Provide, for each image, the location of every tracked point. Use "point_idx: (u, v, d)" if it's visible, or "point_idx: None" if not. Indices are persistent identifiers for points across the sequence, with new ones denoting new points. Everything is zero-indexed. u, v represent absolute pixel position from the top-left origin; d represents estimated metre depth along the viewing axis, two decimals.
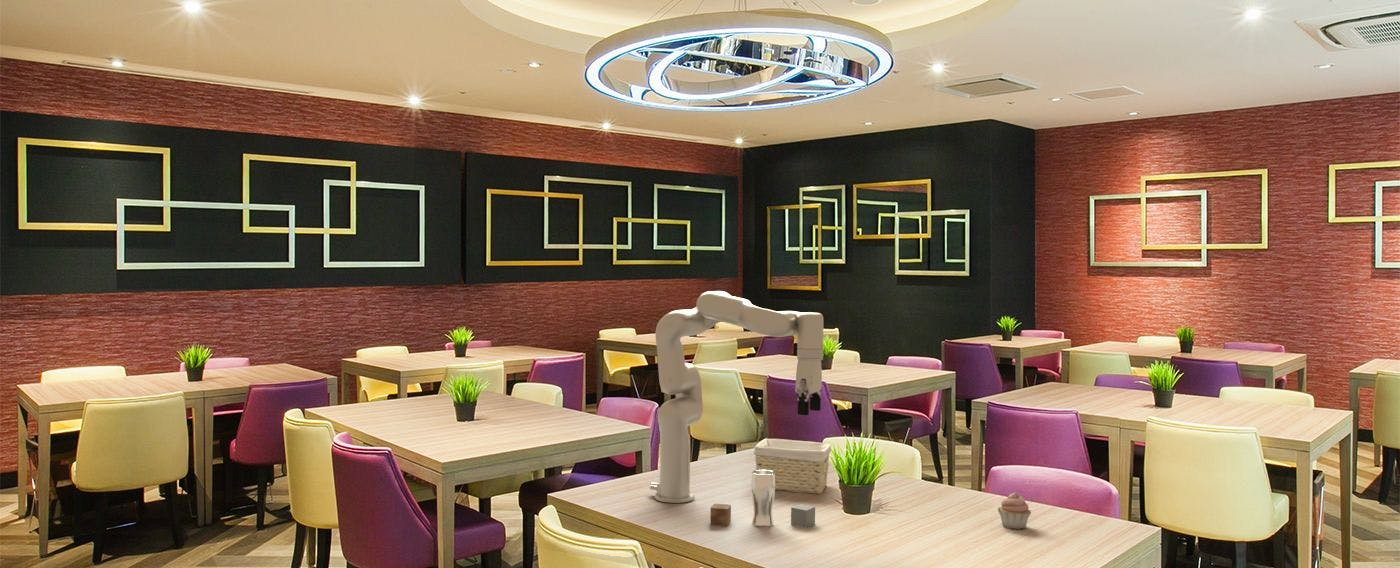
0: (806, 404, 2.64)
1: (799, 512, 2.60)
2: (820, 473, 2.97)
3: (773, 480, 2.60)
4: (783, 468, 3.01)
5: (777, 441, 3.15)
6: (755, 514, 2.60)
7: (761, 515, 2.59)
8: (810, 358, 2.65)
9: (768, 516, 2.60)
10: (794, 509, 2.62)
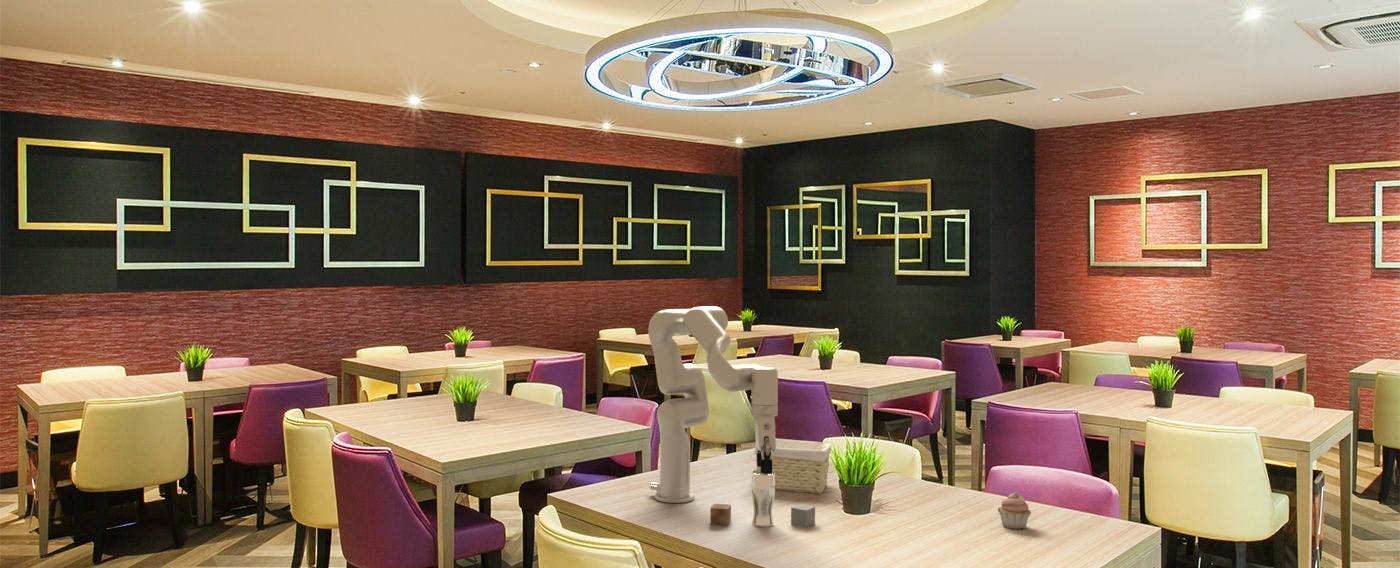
0: None
1: (799, 512, 2.60)
2: (821, 473, 2.98)
3: (773, 480, 2.60)
4: (784, 468, 3.01)
5: (777, 441, 3.16)
6: (755, 514, 2.60)
7: (761, 515, 2.59)
8: None
9: (768, 516, 2.60)
10: (794, 509, 2.62)
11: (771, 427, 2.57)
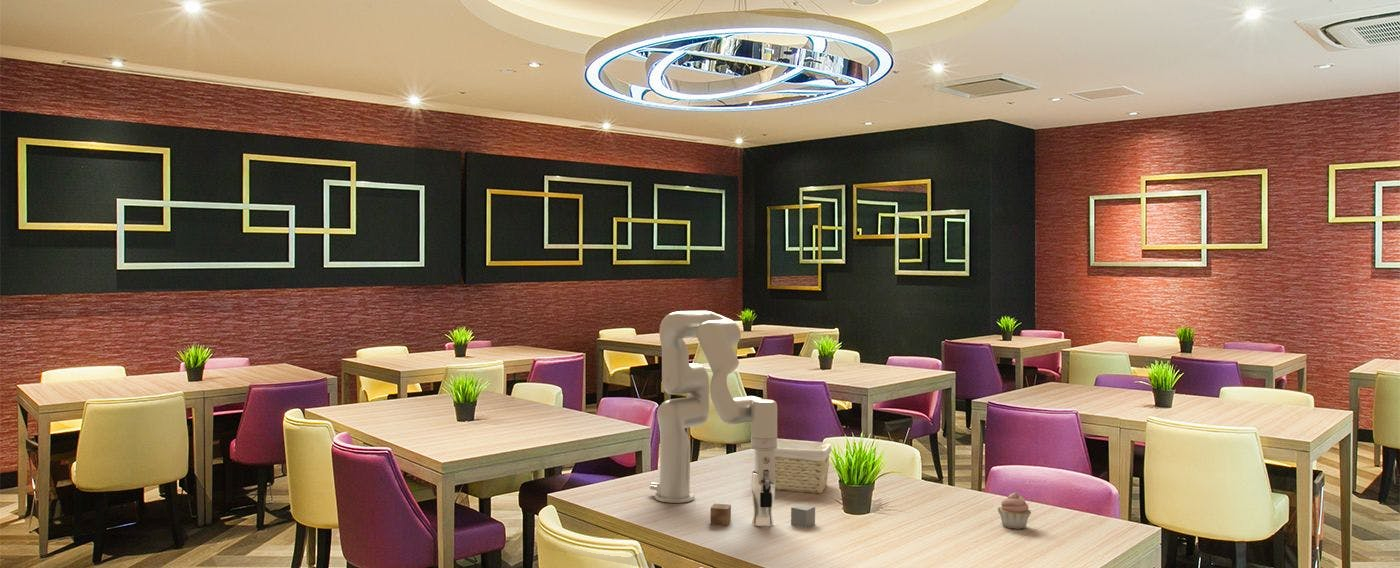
0: None
1: (799, 512, 2.60)
2: (821, 472, 2.98)
3: None
4: (784, 468, 3.01)
5: (777, 441, 3.16)
6: (755, 514, 2.60)
7: (761, 515, 2.59)
8: None
9: (768, 516, 2.60)
10: (794, 509, 2.62)
11: (770, 460, 2.57)
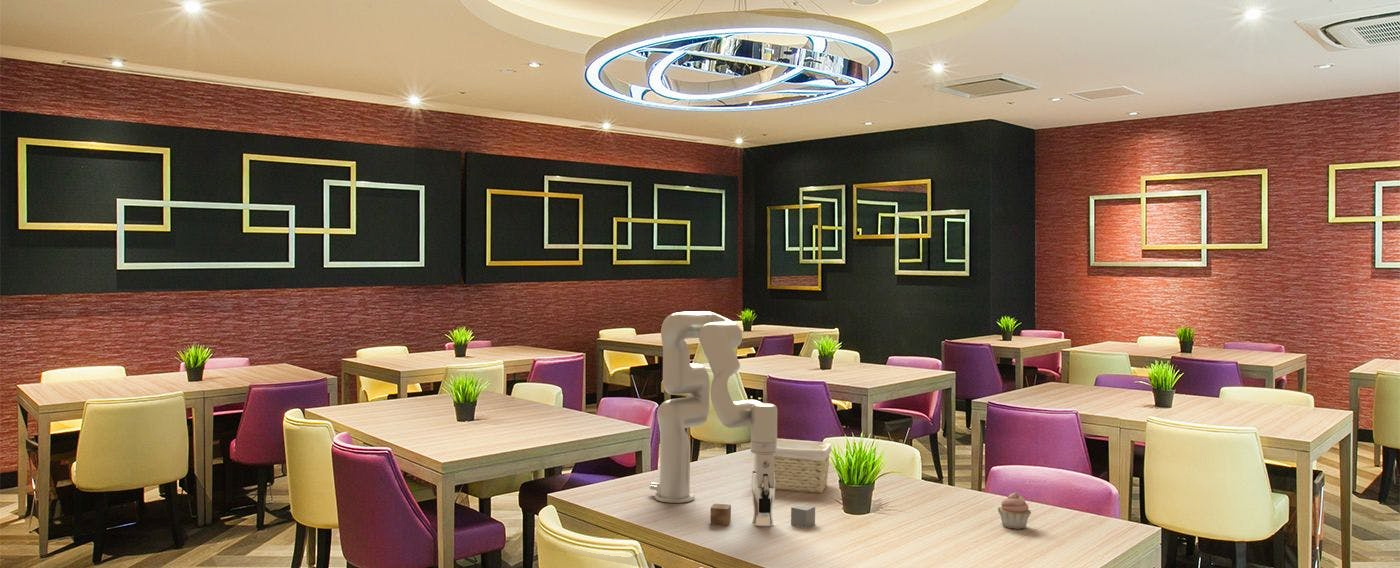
0: None
1: (799, 512, 2.60)
2: (821, 472, 2.98)
3: None
4: (784, 467, 3.02)
5: (777, 441, 3.16)
6: (755, 514, 2.60)
7: (761, 515, 2.59)
8: None
9: (768, 516, 2.60)
10: (794, 509, 2.62)
11: (770, 465, 2.57)
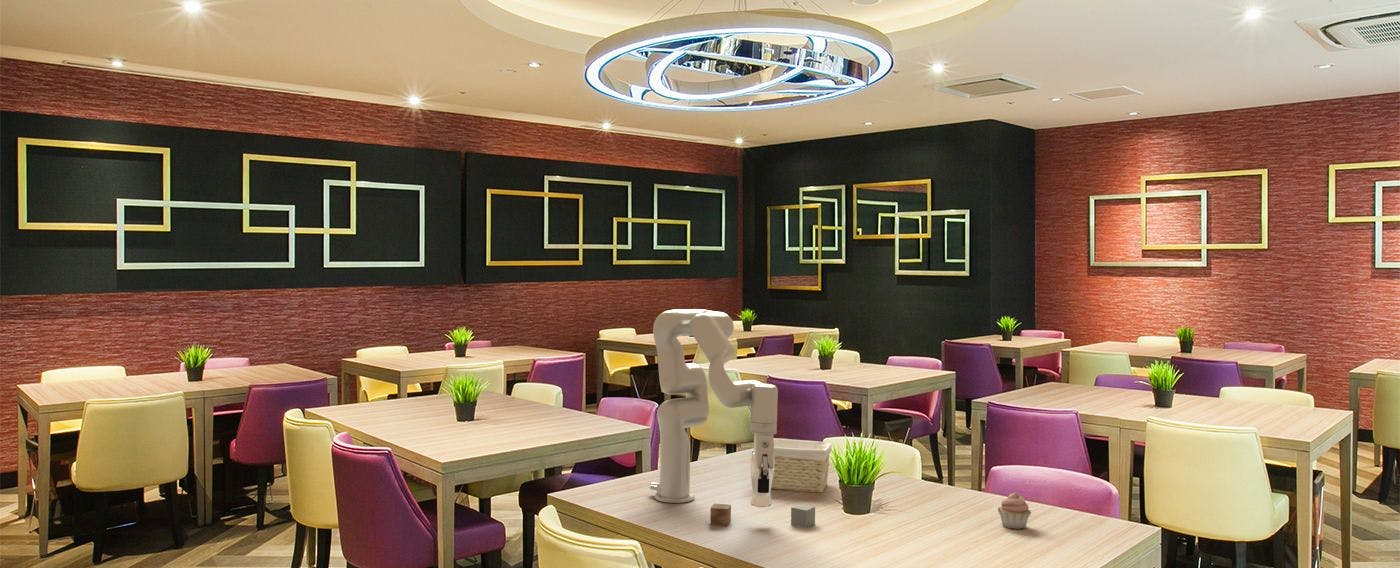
0: None
1: (799, 512, 2.60)
2: (822, 472, 2.99)
3: None
4: (785, 467, 3.02)
5: (778, 440, 3.16)
6: (754, 494, 2.61)
7: (760, 495, 2.60)
8: None
9: (767, 496, 2.60)
10: (794, 509, 2.62)
11: (770, 445, 2.57)
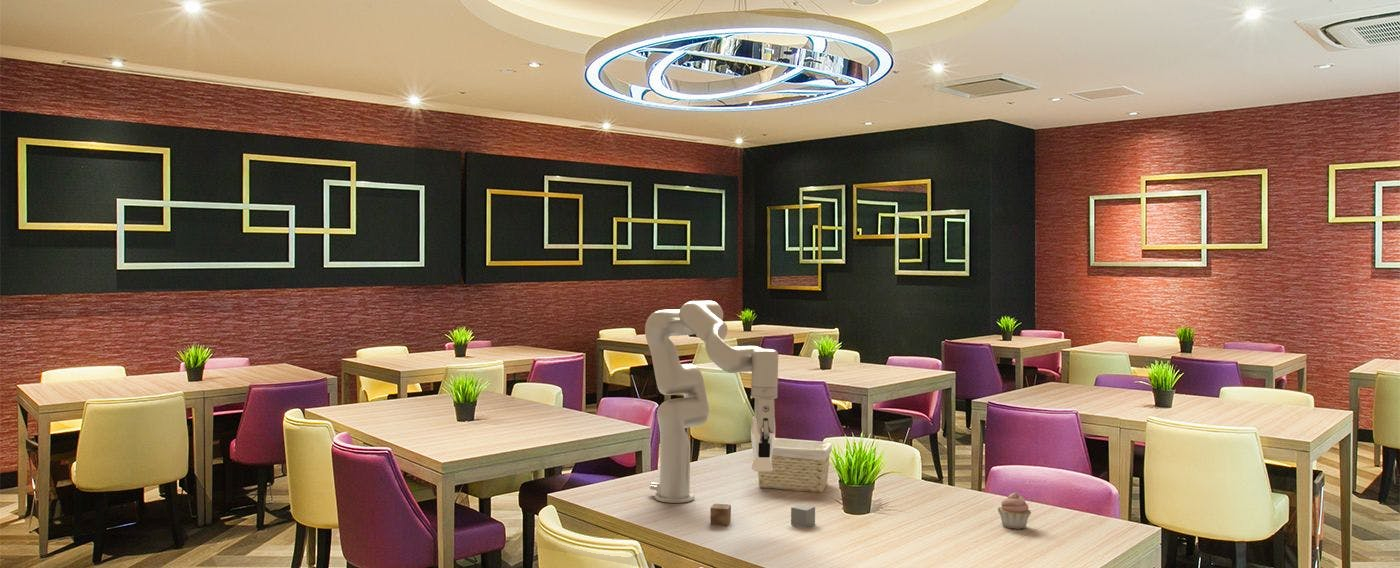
0: None
1: (799, 512, 2.60)
2: (822, 472, 2.99)
3: None
4: (785, 467, 3.02)
5: (778, 440, 3.17)
6: (755, 459, 2.61)
7: (761, 460, 2.59)
8: None
9: (768, 461, 2.60)
10: (794, 509, 2.62)
11: (770, 409, 2.57)
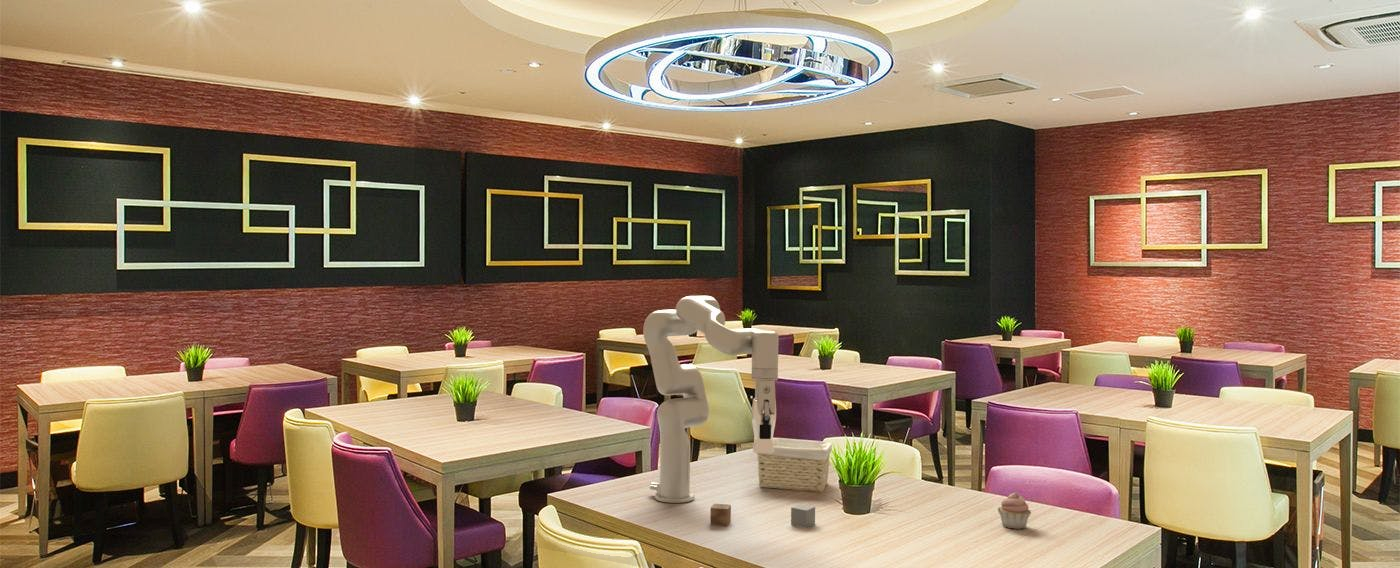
0: None
1: (799, 512, 2.60)
2: (822, 471, 3.00)
3: None
4: (785, 467, 3.03)
5: (778, 440, 3.17)
6: (756, 441, 2.60)
7: (762, 441, 2.59)
8: None
9: (769, 443, 2.59)
10: (794, 509, 2.62)
11: (771, 390, 2.57)
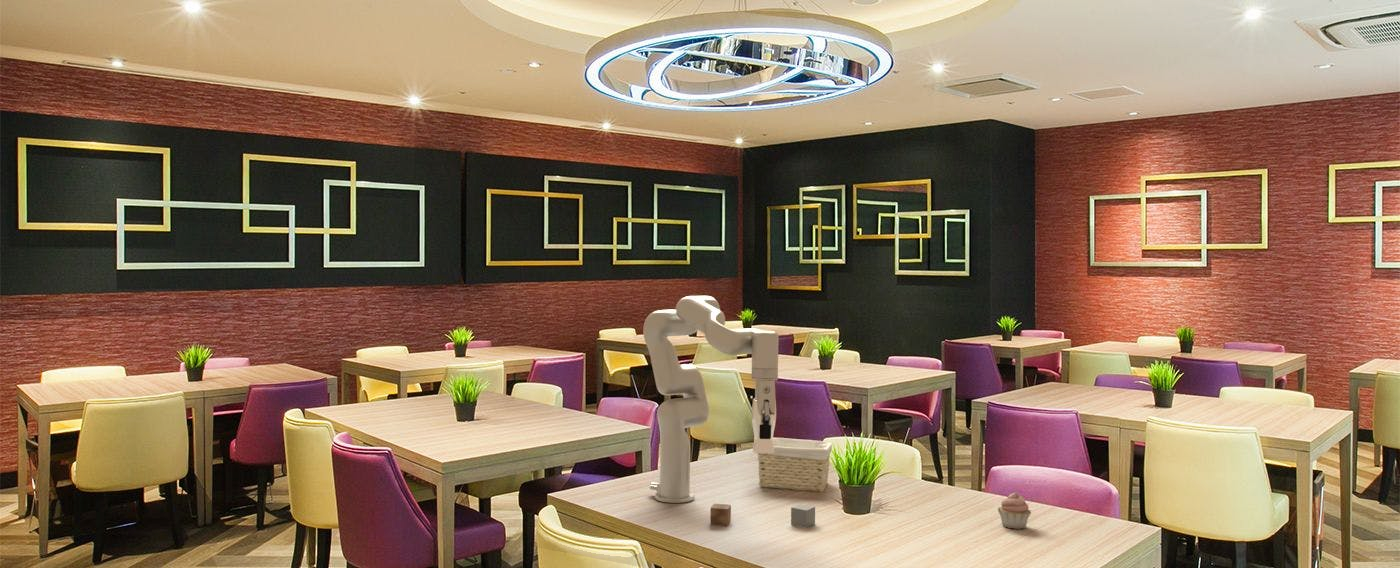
0: None
1: (799, 512, 2.60)
2: (823, 471, 3.00)
3: None
4: (786, 466, 3.03)
5: (778, 440, 3.17)
6: (756, 441, 2.60)
7: (762, 441, 2.59)
8: None
9: (769, 443, 2.59)
10: (794, 509, 2.62)
11: (771, 390, 2.57)
